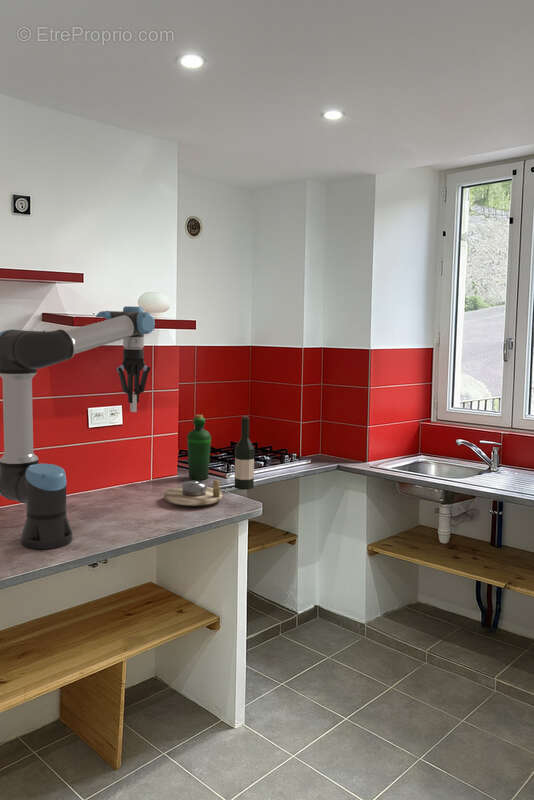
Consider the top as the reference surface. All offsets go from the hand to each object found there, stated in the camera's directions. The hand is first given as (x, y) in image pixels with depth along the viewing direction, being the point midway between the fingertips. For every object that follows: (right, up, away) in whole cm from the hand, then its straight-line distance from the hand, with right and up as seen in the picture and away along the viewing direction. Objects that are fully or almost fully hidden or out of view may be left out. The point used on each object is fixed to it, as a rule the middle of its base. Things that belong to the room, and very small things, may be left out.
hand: (133, 411), depth 245 cm
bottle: (+20, -30, +42) cm, 55 cm away
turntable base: (+22, -35, +6) cm, 41 cm away
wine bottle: (+40, -32, +29) cm, 59 cm away
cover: (+22, -32, +6) cm, 39 cm away
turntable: (+22, -33, +6) cm, 40 cm away
